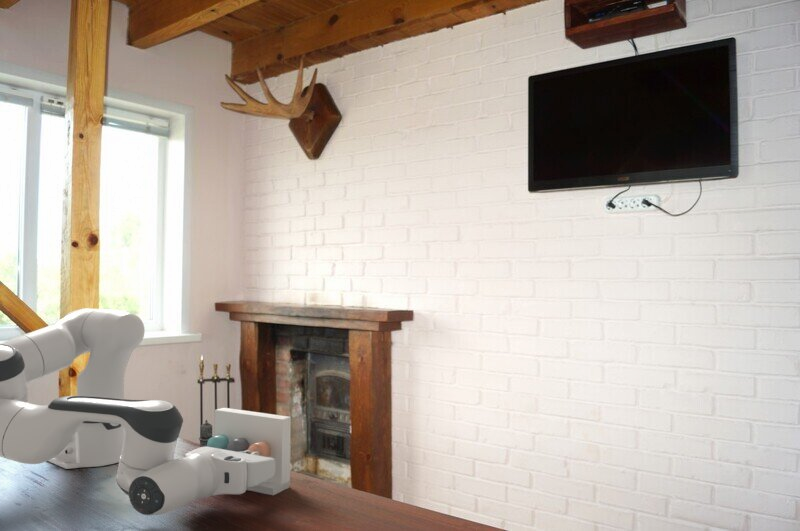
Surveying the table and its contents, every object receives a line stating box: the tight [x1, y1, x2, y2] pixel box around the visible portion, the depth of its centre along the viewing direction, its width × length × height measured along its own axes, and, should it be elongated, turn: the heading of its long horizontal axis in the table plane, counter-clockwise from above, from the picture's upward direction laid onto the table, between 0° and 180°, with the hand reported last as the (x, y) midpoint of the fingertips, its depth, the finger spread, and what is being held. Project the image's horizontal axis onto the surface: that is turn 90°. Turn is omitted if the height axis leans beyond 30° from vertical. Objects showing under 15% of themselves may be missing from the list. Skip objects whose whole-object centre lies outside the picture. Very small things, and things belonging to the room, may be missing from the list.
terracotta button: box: [248, 441, 271, 457], centre depth 139 cm, size 4×3×4 cm
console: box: [214, 407, 292, 496], centre depth 145 cm, size 20×6×16 cm, turn 63°
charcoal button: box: [227, 438, 250, 452], centre depth 142 cm, size 4×3×4 cm
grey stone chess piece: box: [198, 419, 213, 448], centre depth 157 cm, size 6×6×12 cm
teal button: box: [207, 434, 229, 450], centre depth 145 cm, size 4×3×4 cm
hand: (254, 454), depth 138 cm, fingers closed
